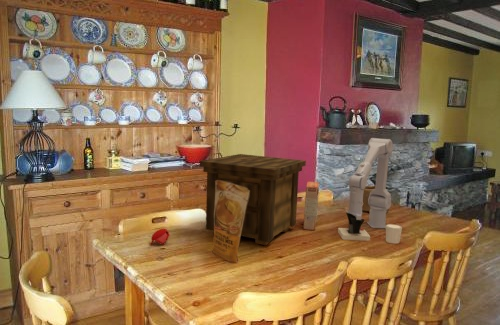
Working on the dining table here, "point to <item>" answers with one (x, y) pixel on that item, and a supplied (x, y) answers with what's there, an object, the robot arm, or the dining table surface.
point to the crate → (258, 192)
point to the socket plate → (347, 236)
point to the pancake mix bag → (229, 218)
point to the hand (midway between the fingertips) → (353, 231)
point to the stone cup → (365, 198)
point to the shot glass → (393, 233)
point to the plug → (351, 229)
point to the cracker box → (311, 205)
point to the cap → (160, 236)
